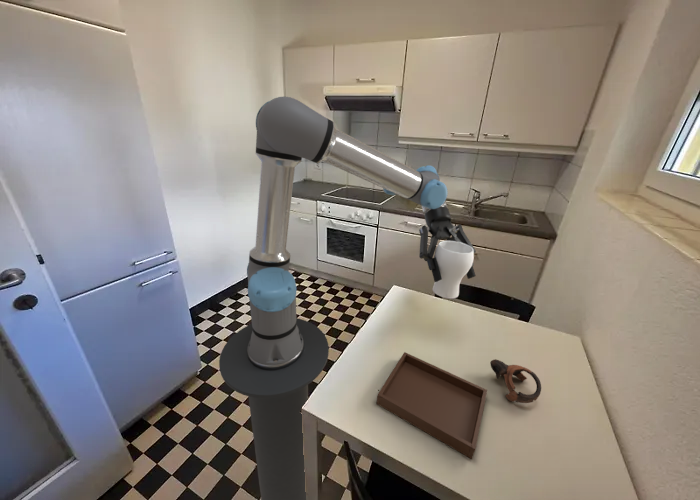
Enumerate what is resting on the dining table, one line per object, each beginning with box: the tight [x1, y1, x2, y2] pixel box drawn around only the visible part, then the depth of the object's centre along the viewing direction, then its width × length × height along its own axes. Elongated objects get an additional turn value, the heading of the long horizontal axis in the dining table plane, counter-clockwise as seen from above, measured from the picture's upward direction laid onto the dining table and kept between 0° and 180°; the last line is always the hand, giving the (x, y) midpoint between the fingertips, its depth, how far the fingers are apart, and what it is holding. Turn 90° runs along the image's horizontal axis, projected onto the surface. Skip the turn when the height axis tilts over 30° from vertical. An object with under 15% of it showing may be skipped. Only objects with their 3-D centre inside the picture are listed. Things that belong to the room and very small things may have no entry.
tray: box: [375, 351, 488, 460], centre depth 67 cm, size 22×17×3 cm
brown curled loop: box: [490, 358, 542, 404], centre depth 71 cm, size 12×10×8 cm
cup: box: [432, 240, 475, 300], centre depth 82 cm, size 11×11×15 cm
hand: (455, 279), depth 80 cm, fingers closed on cup, 11 cm apart
